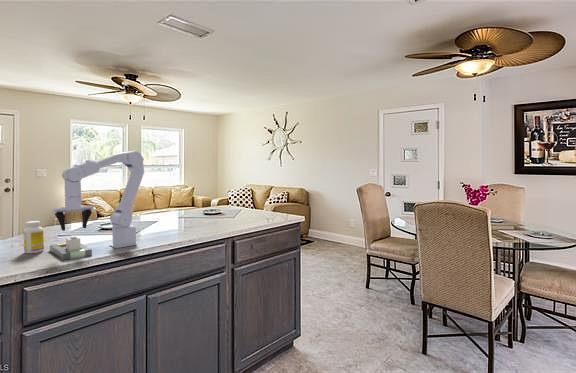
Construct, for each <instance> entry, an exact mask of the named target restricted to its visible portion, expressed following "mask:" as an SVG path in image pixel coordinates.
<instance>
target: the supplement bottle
mask: <svg viewBox="0 0 576 373" xmlns="http://www.w3.org/2000/svg"><path fill="white" fill-rule="evenodd" d="M25 225H26V227H25V228H24V229H23V232H22V233H23V250H24V253H25V254H37V253H41V252H43V251H44V250H45V241H44V240H45V238H44V228H43V227H42V226H40V225H41V220H30V221H26V222H25Z"/></svg>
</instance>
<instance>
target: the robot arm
mask: <svg viewBox="0 0 576 373" xmlns="http://www.w3.org/2000/svg"><path fill="white" fill-rule="evenodd" d="M144 160H145V159H144V157H143V156H142V154H141V153H140V152H139V151H137V150H133V151H132V150H131V151H128V150H127V151H123V152H118V153H114V154H112V155H110V156H107V157H104V158H102V159H100V160H97V161H96V160H94V159H91V160H90V159H86V160H85V162H82V163H80V164H74V165H73V167H66V168H65V169H64V170H63V172H62V174H61V177H62V179H63V180H64V206H62V207H54V208H53V207H52V208H51V213H52V214H54V215H55V217H56V219H57V221H58V223H59V226H60V229H61V231H66V223H65V221H66V214H65V213H73V212H74V213H76V212H81V217H82V228H83V229H86V228H87V224H88V221H89V218H90V217H91V215H92V211H94V210H95V209H94V205H82V181H81V180H83V179H85V178H87V177H90V176H93V175H95V174H98V173H99V172H100V170H101V169H103V168H104V167H105V168H106V167H108V166H111V165H115V164H117V163H122V164H123V165H124V166H125V167H127V168H128V171H129V172H130V175H129V177H128V181H127V182H126V185H125V188H124V191H123V193H122V196H121V199H120V202H119V204H118V205H117V206H116V207H115V209H114V211H113V212H112V213H111V214H110V216H109V220H110V222H111V224H112V228H111V230H112V243H109V246H110V247H112V248H115V249H118V248H119V249H120V248H124V247H131V246H137V244H138V243H137V230H136V227H135V226H134V225H131V223H132V222H133V213H134V212H133V205H134V202H135V199H136V196H137V193H138V191H139V187H140V185H141V183H142V180H143V178H144V177H143V176H144V174H145V168H144Z"/></svg>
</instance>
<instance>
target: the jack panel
mask: <svg viewBox="0 0 576 373" xmlns="http://www.w3.org/2000/svg"><path fill="white" fill-rule="evenodd" d="M92 250H93V249H91V248H90V247H88V246H86V245H85V244H83V243H81V242H80V250H74V251H67V250H66V242H62V243H53V244H49V251H50V252H51V253H53V254H54V255H55V256H57V257H58V258H60V259H61V260H63V261H67V260H72V259H77V258H78V259H79V258H84V257H89V256H92V253H93V251H92Z"/></svg>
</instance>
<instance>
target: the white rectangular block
mask: <svg viewBox="0 0 576 373" xmlns="http://www.w3.org/2000/svg"><path fill="white" fill-rule="evenodd" d="M65 243H66V250H67V251H74V250H80V243H81V238H80V237H78V236H70V237H66V238H65Z"/></svg>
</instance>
